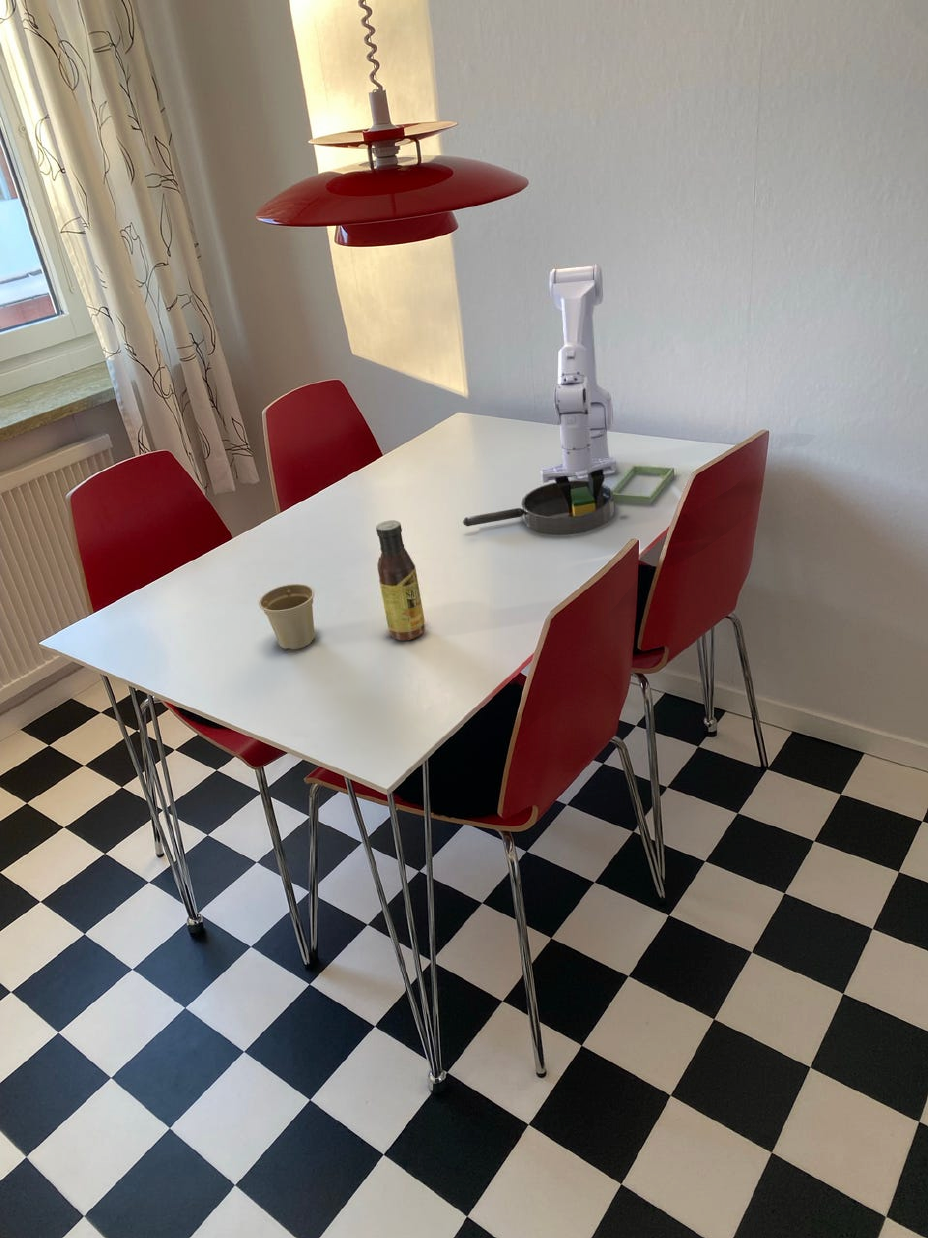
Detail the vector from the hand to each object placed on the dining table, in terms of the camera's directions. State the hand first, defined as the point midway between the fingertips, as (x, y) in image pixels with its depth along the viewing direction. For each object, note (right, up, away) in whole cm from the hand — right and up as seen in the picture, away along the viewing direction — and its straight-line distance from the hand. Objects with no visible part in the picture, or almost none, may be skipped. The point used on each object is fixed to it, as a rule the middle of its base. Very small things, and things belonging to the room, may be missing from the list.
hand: (581, 508), depth 196 cm
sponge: (0, -1, 0) cm, 1 cm away
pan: (-3, -2, +1) cm, 3 cm away
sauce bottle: (-33, -24, -30) cm, 51 cm away
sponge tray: (+13, +5, +7) cm, 16 cm away
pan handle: (-18, -3, -1) cm, 18 cm away
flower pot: (-52, -26, -27) cm, 64 cm away
